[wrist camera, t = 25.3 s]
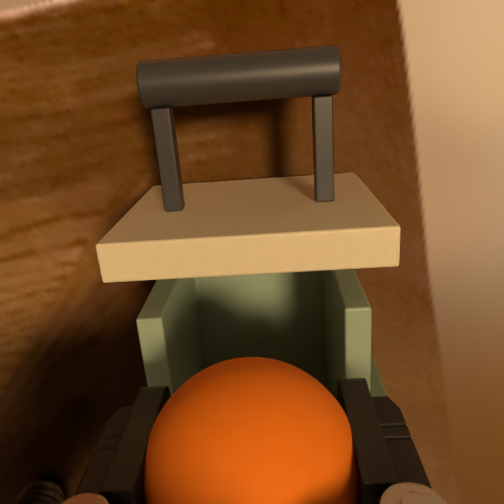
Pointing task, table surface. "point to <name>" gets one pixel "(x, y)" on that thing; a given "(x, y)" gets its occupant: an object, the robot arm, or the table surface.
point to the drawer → (251, 234)
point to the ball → (251, 439)
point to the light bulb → (40, 493)
